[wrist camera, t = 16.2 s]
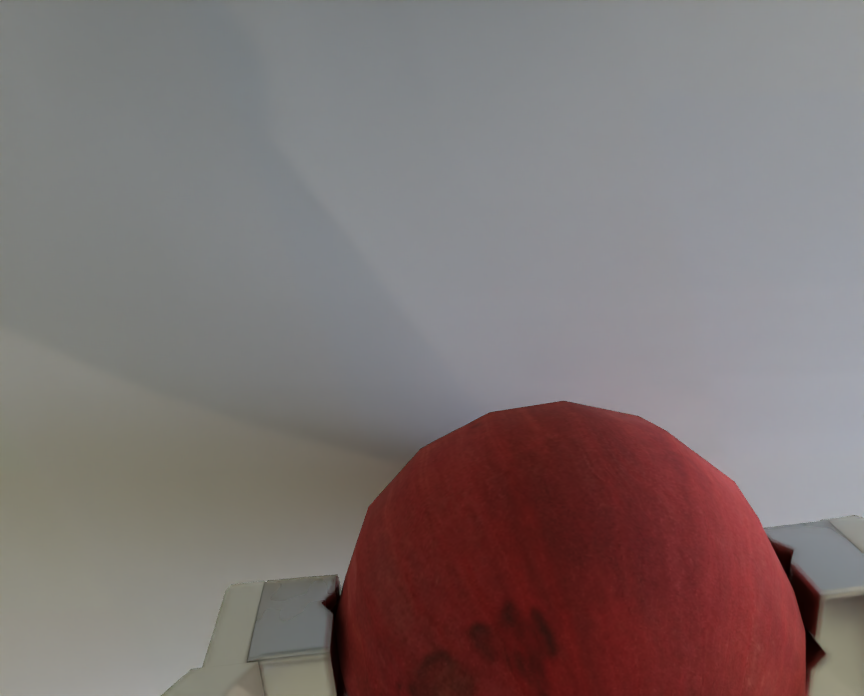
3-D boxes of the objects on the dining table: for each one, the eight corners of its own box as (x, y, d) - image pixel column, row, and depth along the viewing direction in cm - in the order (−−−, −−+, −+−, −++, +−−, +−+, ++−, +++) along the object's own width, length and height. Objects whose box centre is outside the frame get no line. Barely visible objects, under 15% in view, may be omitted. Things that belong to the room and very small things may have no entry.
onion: (381, 641, 14) (389, 1264, 7) (316, 367, 12) (221, 804, 5) (676, 585, 14) (1016, 1137, 7) (657, 304, 12) (1102, 632, 5)
